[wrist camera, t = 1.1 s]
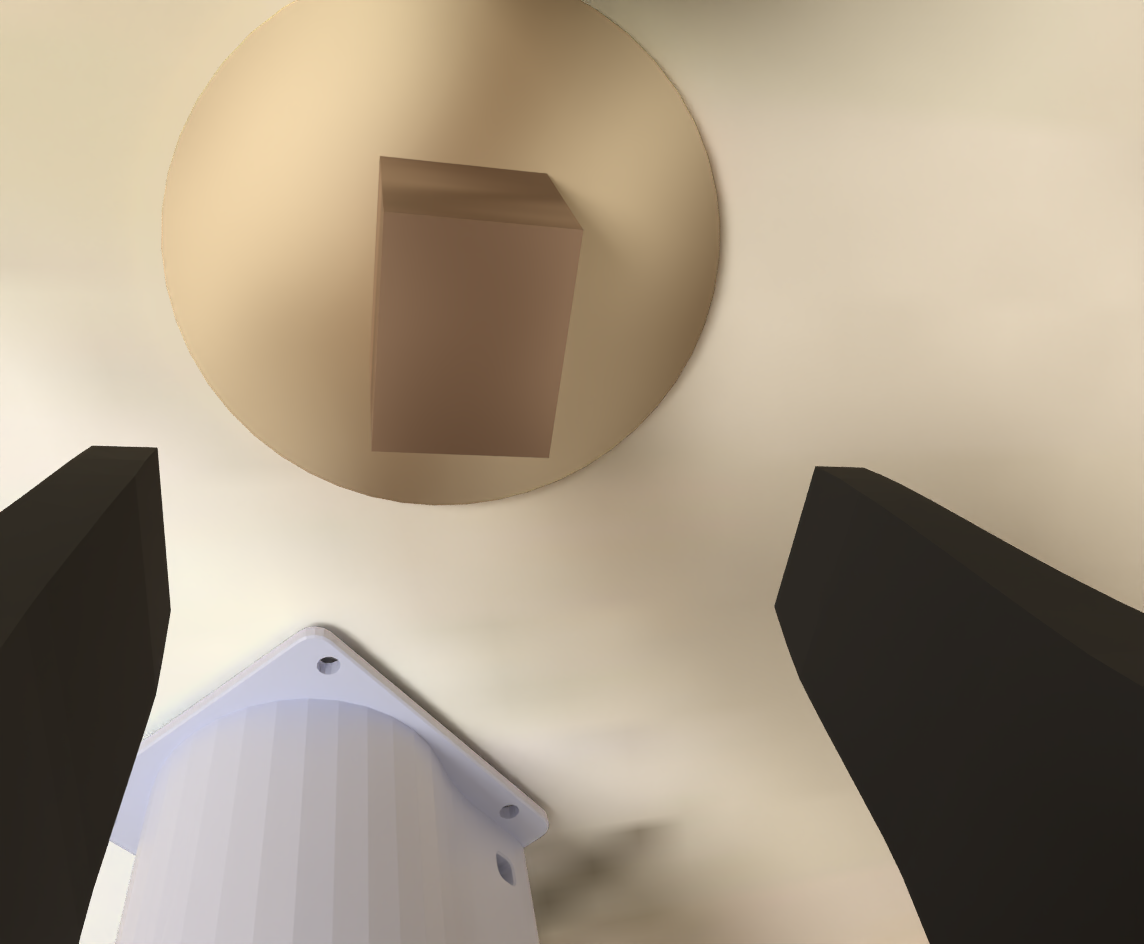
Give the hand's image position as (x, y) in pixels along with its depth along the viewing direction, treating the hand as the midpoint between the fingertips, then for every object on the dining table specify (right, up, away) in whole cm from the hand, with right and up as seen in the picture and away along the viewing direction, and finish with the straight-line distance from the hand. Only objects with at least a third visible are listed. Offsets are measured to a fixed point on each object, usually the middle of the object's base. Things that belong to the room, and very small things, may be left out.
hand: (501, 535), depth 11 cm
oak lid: (-2, +5, +8) cm, 10 cm away
